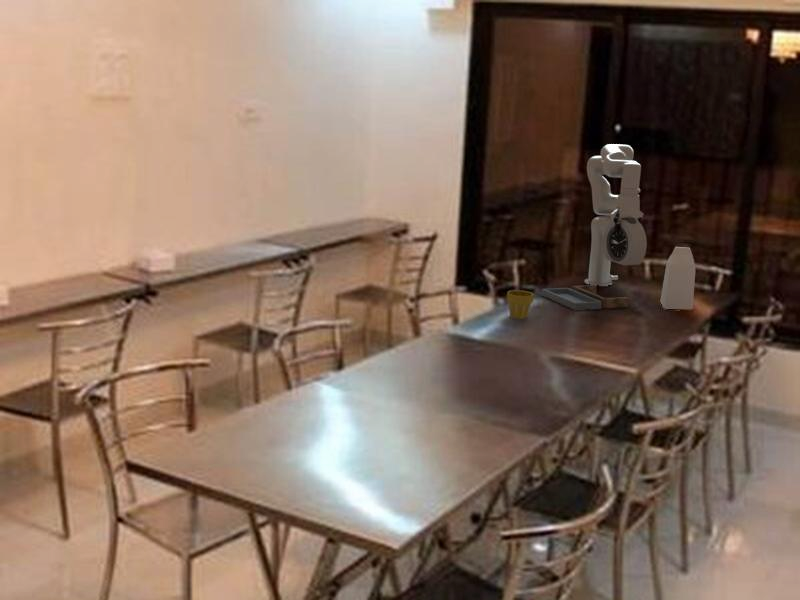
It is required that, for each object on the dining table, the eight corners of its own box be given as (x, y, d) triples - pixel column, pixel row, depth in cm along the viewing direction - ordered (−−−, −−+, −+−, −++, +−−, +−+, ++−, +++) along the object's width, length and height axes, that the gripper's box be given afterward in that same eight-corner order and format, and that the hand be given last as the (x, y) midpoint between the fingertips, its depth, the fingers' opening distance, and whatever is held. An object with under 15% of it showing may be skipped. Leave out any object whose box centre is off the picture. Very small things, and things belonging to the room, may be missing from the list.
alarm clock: (600, 257, 469) (605, 212, 465) (614, 256, 472) (618, 212, 468) (630, 267, 450) (635, 221, 446) (644, 266, 454) (649, 220, 449)
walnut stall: (594, 293, 475) (595, 285, 474) (627, 306, 452) (628, 297, 451) (571, 294, 470) (572, 286, 469) (603, 308, 448) (603, 298, 447)
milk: (688, 305, 462) (695, 246, 456) (692, 311, 451) (699, 250, 445) (659, 303, 463) (666, 244, 457) (663, 309, 452) (670, 248, 446)
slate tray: (567, 294, 470) (567, 287, 470) (601, 308, 446) (601, 301, 445) (541, 295, 465) (542, 288, 464) (574, 310, 441) (575, 303, 440)
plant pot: (528, 321, 418) (530, 297, 416) (502, 318, 421) (504, 293, 419) (534, 315, 428) (536, 292, 426) (508, 312, 431) (510, 288, 429)
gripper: (641, 190, 461) (636, 230, 465) (607, 190, 454) (603, 231, 458) (651, 193, 455) (647, 233, 459) (617, 193, 448) (613, 234, 452)
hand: (625, 232), depth 458 cm, fingers closed on alarm clock, 7 cm apart
